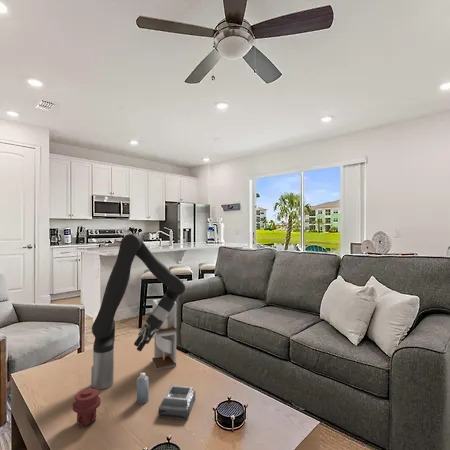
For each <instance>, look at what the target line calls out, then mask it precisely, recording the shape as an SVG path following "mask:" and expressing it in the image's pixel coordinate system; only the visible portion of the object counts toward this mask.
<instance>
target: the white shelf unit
mask: <svg viewBox="0 0 450 450" xmlns="http://www.w3.org/2000/svg"><path fill="white" fill-rule="evenodd" d="M161 299H162V298H158V299H152V310H153V309H154V308H155V307H156V306H157V304H158V303H159V301H160V300H161ZM177 309H178V304H177V302H176V301H175V304H174V306H173V308H172V309H171V311H170V312H169V314H168V316H167V318H166V319H165V321H164V322H163V324H162V325H161V327H160V328H159V329H158V330H157V329H154V331H155V334H154V346H153V347H154V350H153V351H154V352H153V353H154V355H153V356H154V357H152V358H151V359H152V363H153V365H154V368H155V370H156V371H160V370H161V371H162V370H165V369H171V368H176V367H177V314H178V313H177V312H178V311H177Z"/></svg>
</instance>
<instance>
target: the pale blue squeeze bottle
mask: <svg viewBox="0 0 450 450" xmlns="http://www.w3.org/2000/svg"><path fill="white" fill-rule="evenodd" d="M148 402H149V376H148V375H146V372H140V374H139V376H138V377H137V378H136V403H137V404H138V405H144V404H147V403H148Z"/></svg>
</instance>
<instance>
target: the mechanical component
mask: <svg viewBox="0 0 450 450" xmlns="http://www.w3.org/2000/svg"><path fill="white" fill-rule="evenodd" d="M98 390H99V389H95V388H86V389H83V390H82V389H81V390H80V391H77V393H76V394H75V395H74V402H73V404H72V411H73V412H74V413H76V415H77V417H76V421H77V423H78V424H79V425H80V427H79V428H85V427H87V425H89V424H92V423H95V422H96V421H97V408H99V407H100V406H101V397H100V396H99V391H98Z"/></svg>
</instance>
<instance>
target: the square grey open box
mask: <svg viewBox="0 0 450 450" xmlns="http://www.w3.org/2000/svg"><path fill="white" fill-rule="evenodd" d="M195 401H196V390H194V387H193V386H185V385H172V384H171V385H170V387H169V388H168V390H167V392H166V394H165V395H164V398H163V399H162V401H161V402H160V405H159V407H158V414H157V415H158V418H160V419H161V418H162V419H170V420H171V419H174V420H180V421H181V420H182V421H183V420H184V421H188V420H189V418H190V414H191V412H192V410H193V407H194V404H195V403H196V402H195Z"/></svg>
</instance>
